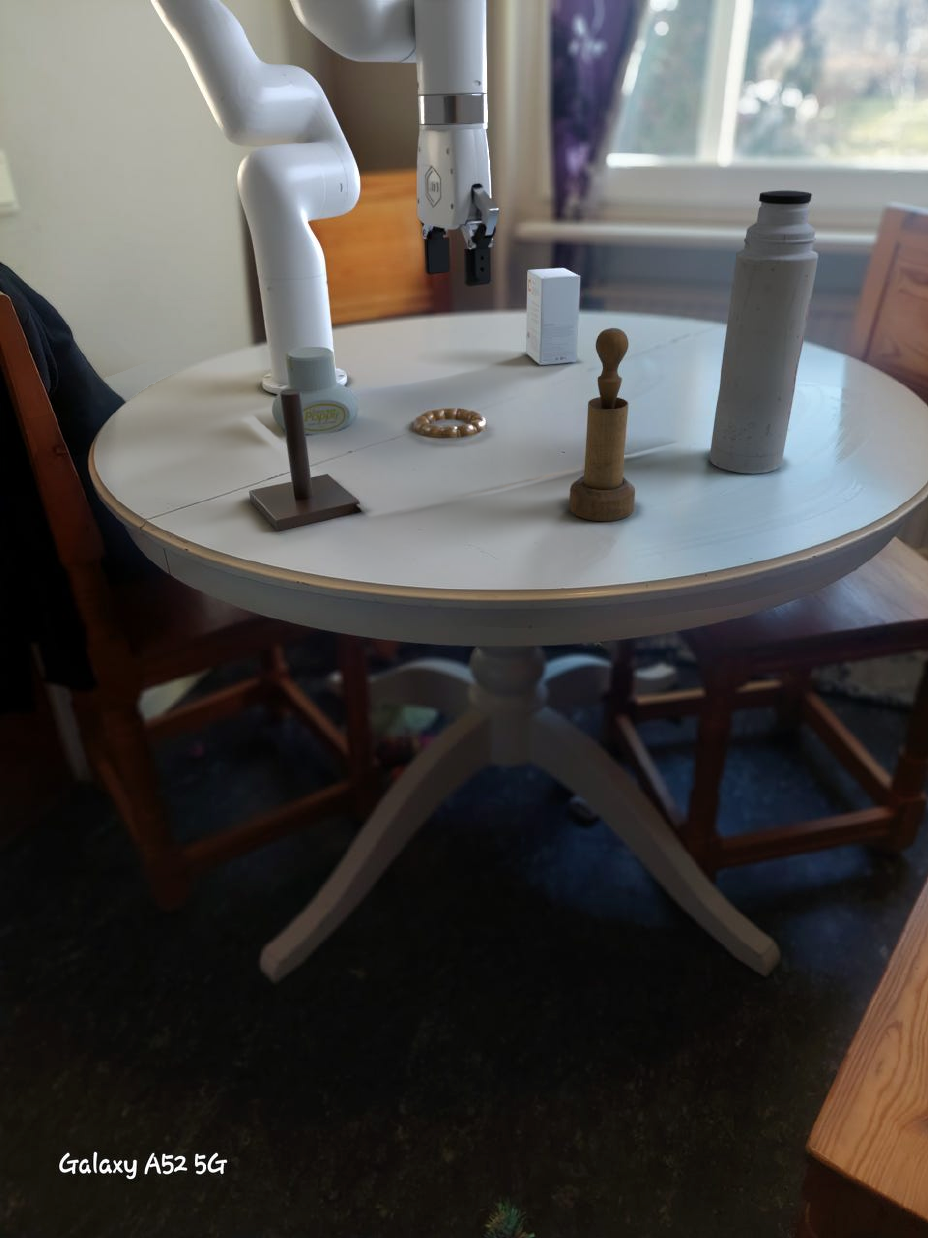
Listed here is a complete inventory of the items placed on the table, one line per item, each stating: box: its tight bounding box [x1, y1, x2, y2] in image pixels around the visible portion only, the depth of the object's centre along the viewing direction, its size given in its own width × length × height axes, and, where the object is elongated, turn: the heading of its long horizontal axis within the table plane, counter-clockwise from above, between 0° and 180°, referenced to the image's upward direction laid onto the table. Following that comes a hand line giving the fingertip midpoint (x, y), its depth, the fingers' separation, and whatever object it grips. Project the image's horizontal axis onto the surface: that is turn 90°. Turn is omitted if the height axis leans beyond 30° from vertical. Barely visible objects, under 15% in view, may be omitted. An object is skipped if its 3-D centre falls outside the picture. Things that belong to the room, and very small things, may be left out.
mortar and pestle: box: [568, 327, 636, 522], centre depth 85 cm, size 7×6×18 cm
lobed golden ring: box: [412, 407, 487, 439], centre depth 110 cm, size 9×9×2 cm
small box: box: [525, 267, 581, 366], centre depth 137 cm, size 8×6×13 cm
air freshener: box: [271, 347, 360, 436], centre depth 110 cm, size 11×8×10 cm
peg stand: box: [248, 389, 361, 532], centre depth 89 cm, size 9×9×12 cm
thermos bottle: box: [709, 189, 819, 475], centre depth 93 cm, size 8×8×28 cm
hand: (457, 278), depth 105 cm, fingers open, 9 cm apart
